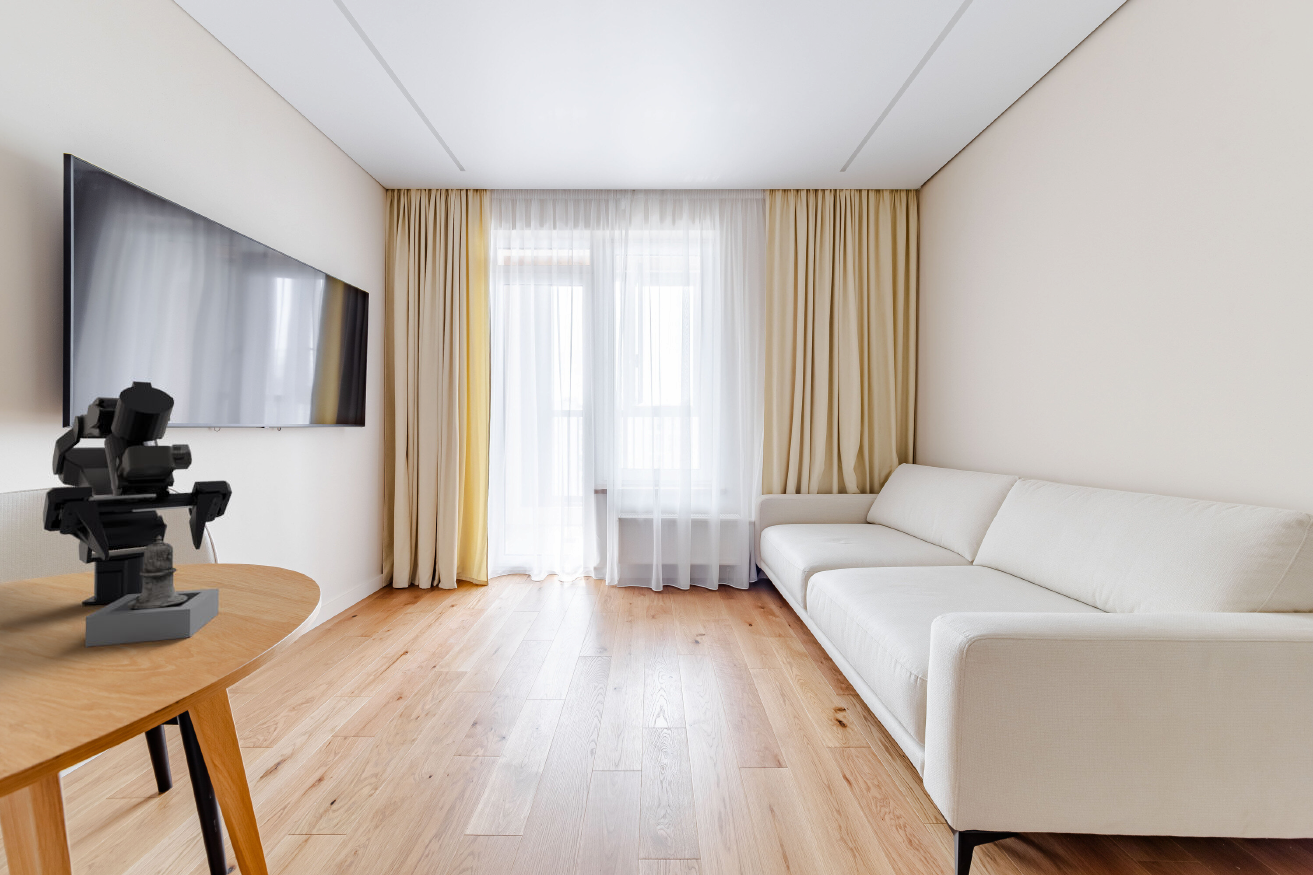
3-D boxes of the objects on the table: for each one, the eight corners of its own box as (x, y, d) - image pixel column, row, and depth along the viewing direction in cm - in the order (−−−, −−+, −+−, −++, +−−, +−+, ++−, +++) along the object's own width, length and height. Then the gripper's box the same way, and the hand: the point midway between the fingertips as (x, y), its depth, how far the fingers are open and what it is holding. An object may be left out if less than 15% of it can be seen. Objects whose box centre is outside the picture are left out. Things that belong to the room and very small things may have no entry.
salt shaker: (151, 638, 70) (153, 540, 70) (113, 634, 72) (115, 538, 72) (198, 623, 76) (200, 532, 76) (162, 619, 77) (164, 530, 77)
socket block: (127, 620, 77) (128, 594, 77) (218, 613, 80) (218, 588, 80) (85, 646, 67) (85, 616, 67) (189, 637, 71) (190, 608, 71)
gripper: (47, 422, 71) (59, 520, 64) (228, 426, 86) (254, 506, 79) (38, 482, 76) (48, 580, 69) (211, 476, 91) (234, 556, 84)
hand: (154, 552), depth 75 cm, fingers open, 9 cm apart
